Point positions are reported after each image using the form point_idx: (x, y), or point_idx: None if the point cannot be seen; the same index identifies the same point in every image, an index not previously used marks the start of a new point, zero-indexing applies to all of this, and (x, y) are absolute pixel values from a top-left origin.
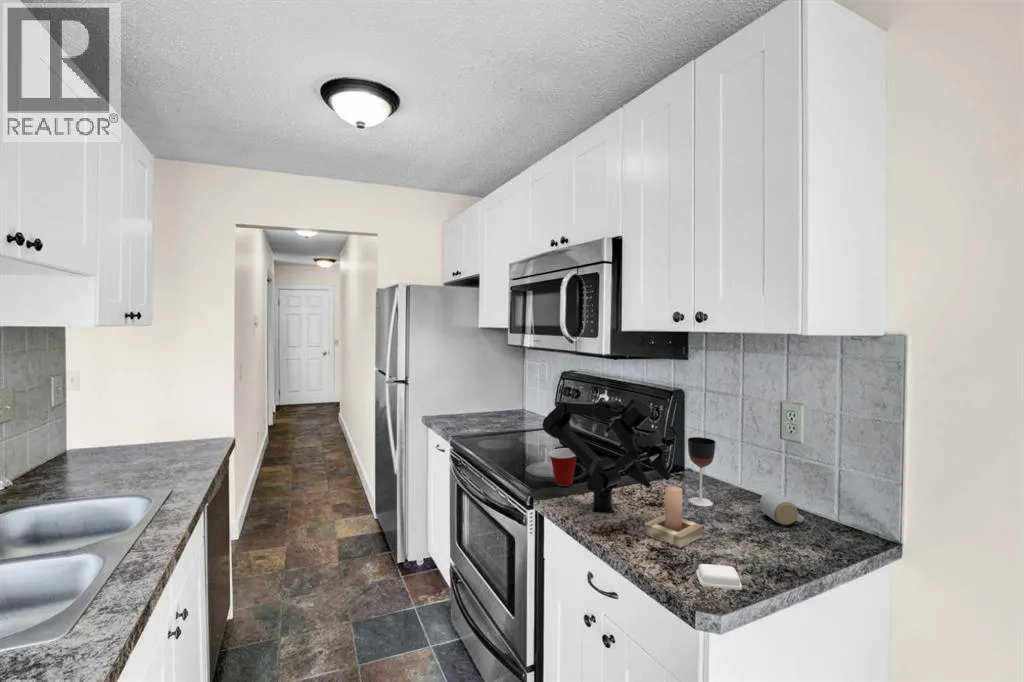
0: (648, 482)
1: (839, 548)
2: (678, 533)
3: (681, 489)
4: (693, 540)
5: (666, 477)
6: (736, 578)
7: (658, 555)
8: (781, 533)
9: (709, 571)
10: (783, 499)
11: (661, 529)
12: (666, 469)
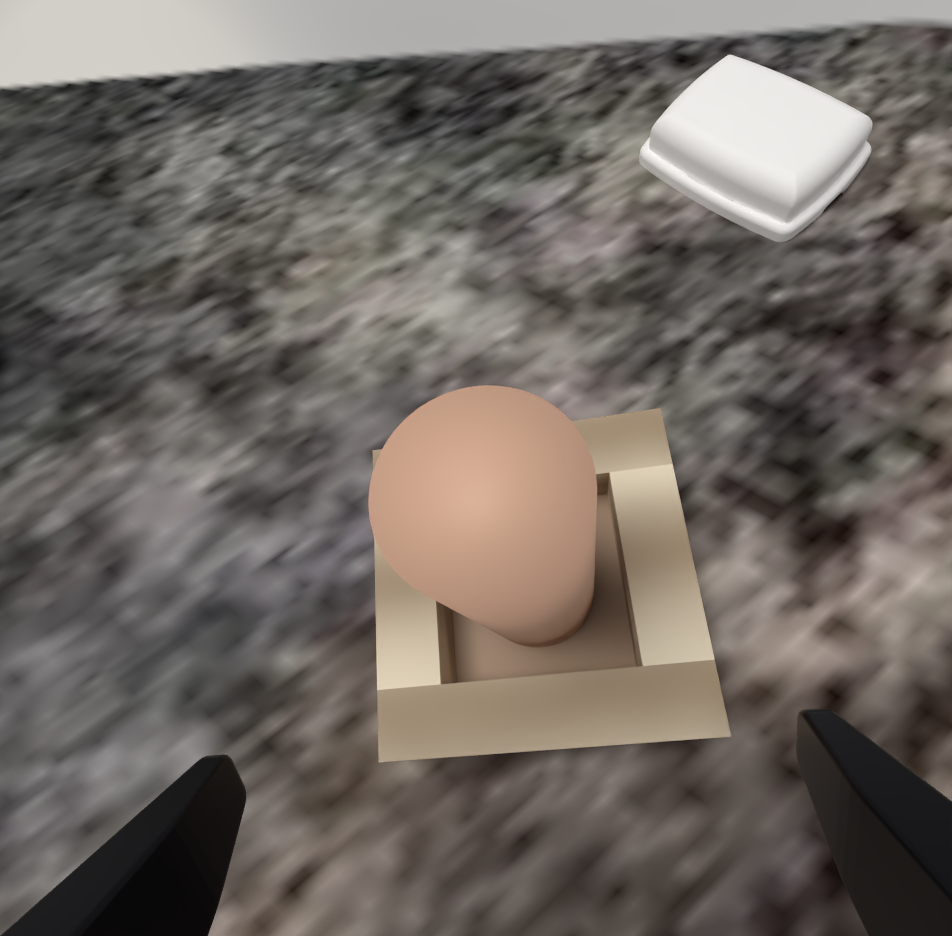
0: (870, 752)
1: (80, 140)
2: (623, 457)
3: (417, 420)
4: None
5: (218, 817)
6: (738, 57)
7: (853, 455)
8: (75, 304)
9: (825, 114)
10: None
11: (684, 571)
12: (59, 903)
